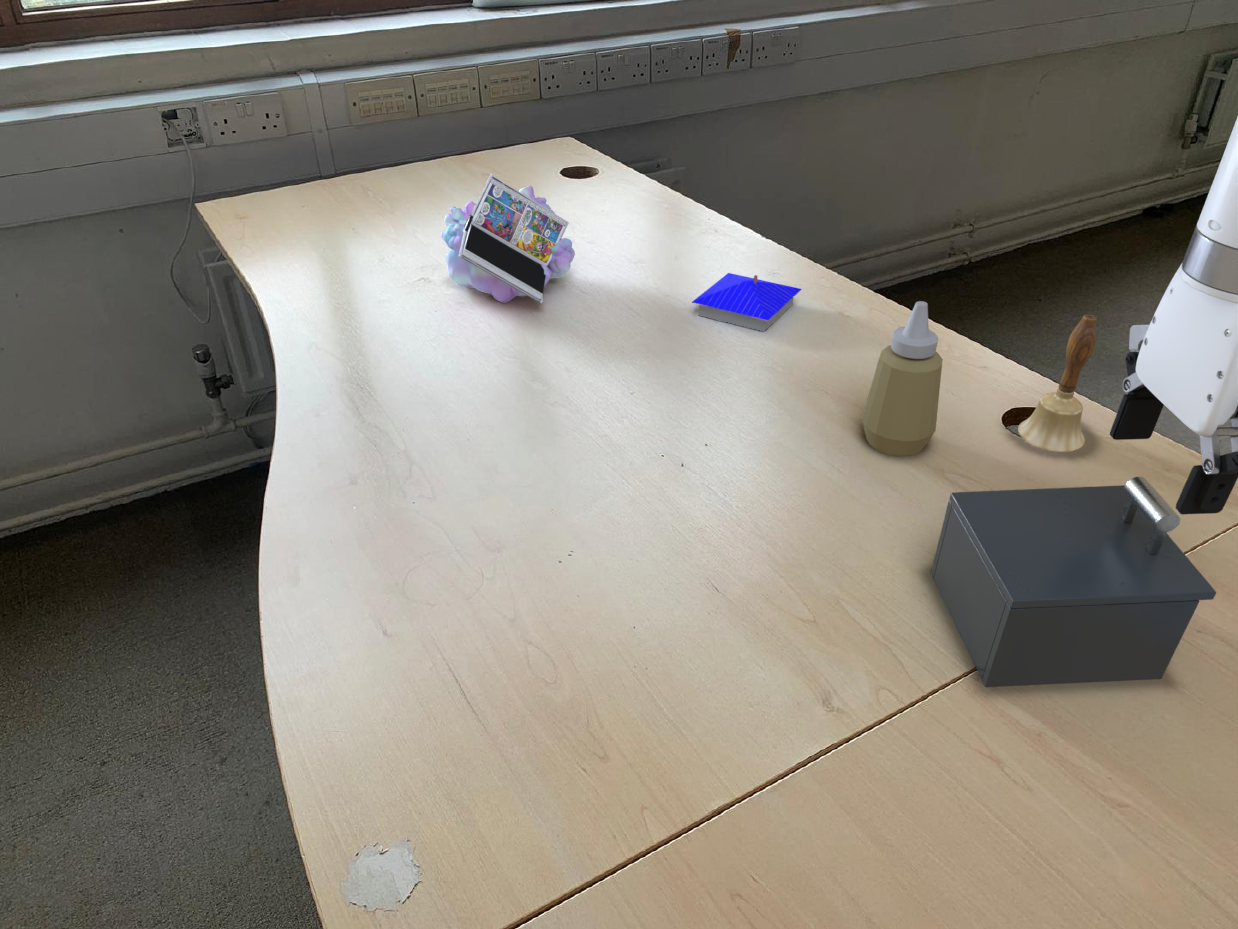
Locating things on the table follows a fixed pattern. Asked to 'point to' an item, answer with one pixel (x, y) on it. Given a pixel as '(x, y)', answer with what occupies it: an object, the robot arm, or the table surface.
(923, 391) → the squeeze bottle
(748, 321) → the roof
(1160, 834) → the table surface
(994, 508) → the bin lid
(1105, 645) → the grey storage bin
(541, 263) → the pastel cloud comic display
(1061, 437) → the hand bell
